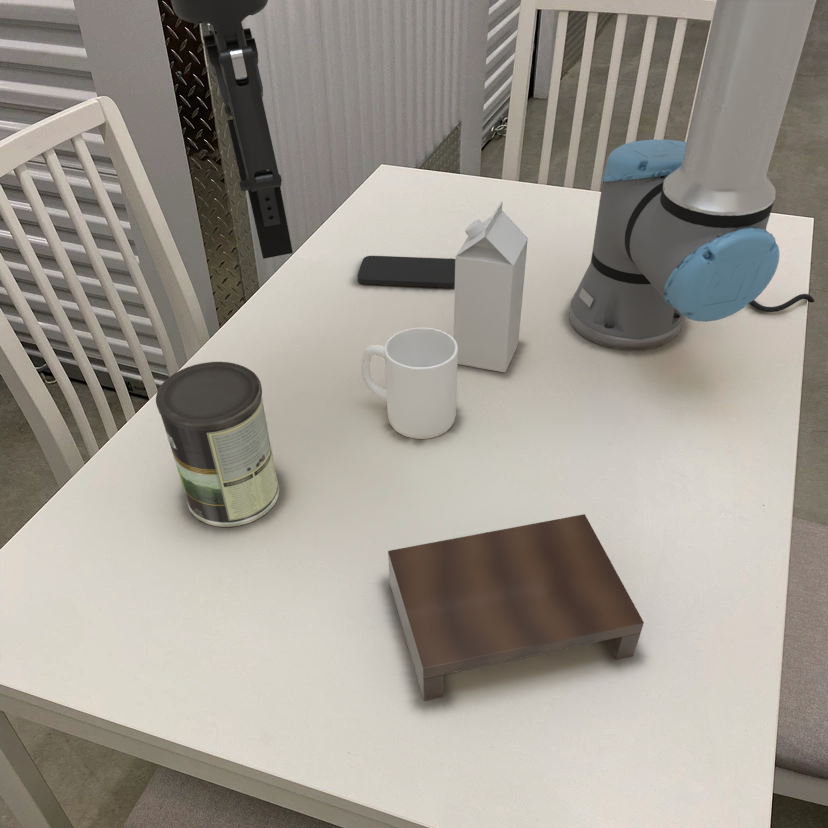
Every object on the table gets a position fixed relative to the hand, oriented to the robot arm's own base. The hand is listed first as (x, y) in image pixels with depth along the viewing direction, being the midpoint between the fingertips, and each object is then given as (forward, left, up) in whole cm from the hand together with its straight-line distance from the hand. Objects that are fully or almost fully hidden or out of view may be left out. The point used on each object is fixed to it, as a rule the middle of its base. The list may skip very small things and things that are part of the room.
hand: (266, 219), depth 78 cm
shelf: (-16, +32, -27) cm, 45 cm away
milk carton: (-27, -11, -27) cm, 39 cm away
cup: (-14, -1, -27) cm, 30 cm away
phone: (-22, -34, -27) cm, 48 cm away
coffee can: (+8, +8, -27) cm, 29 cm away
